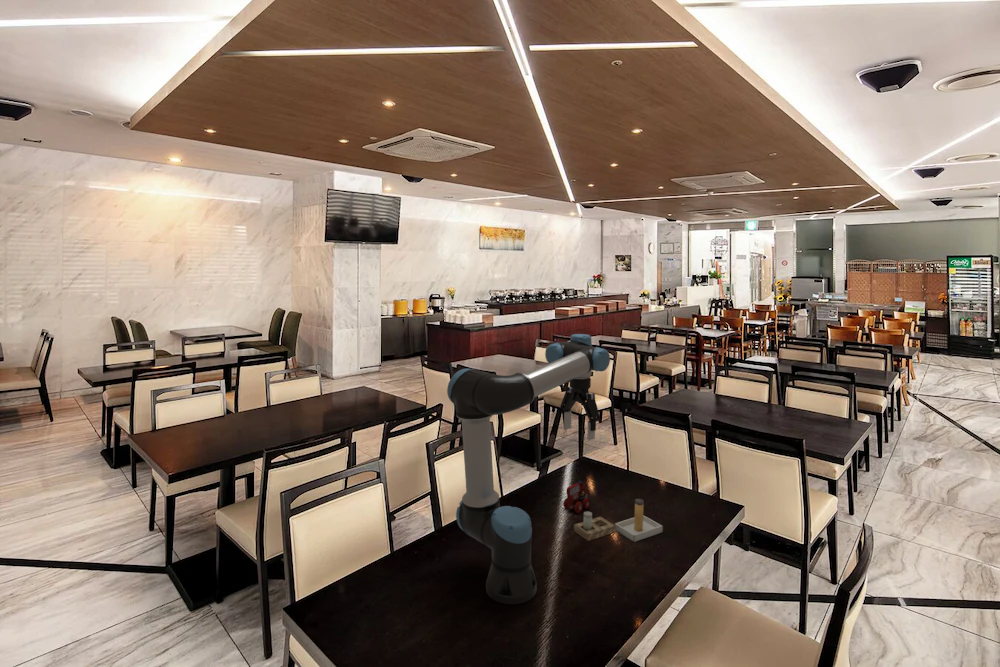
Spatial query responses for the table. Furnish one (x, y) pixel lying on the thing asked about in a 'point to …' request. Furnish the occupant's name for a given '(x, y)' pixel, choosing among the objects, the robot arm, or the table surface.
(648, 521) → the tray
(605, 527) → the socket block
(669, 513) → the table surface
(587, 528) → the fuse
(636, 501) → the cylinder
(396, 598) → the table surface
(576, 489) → the toy fire truck
